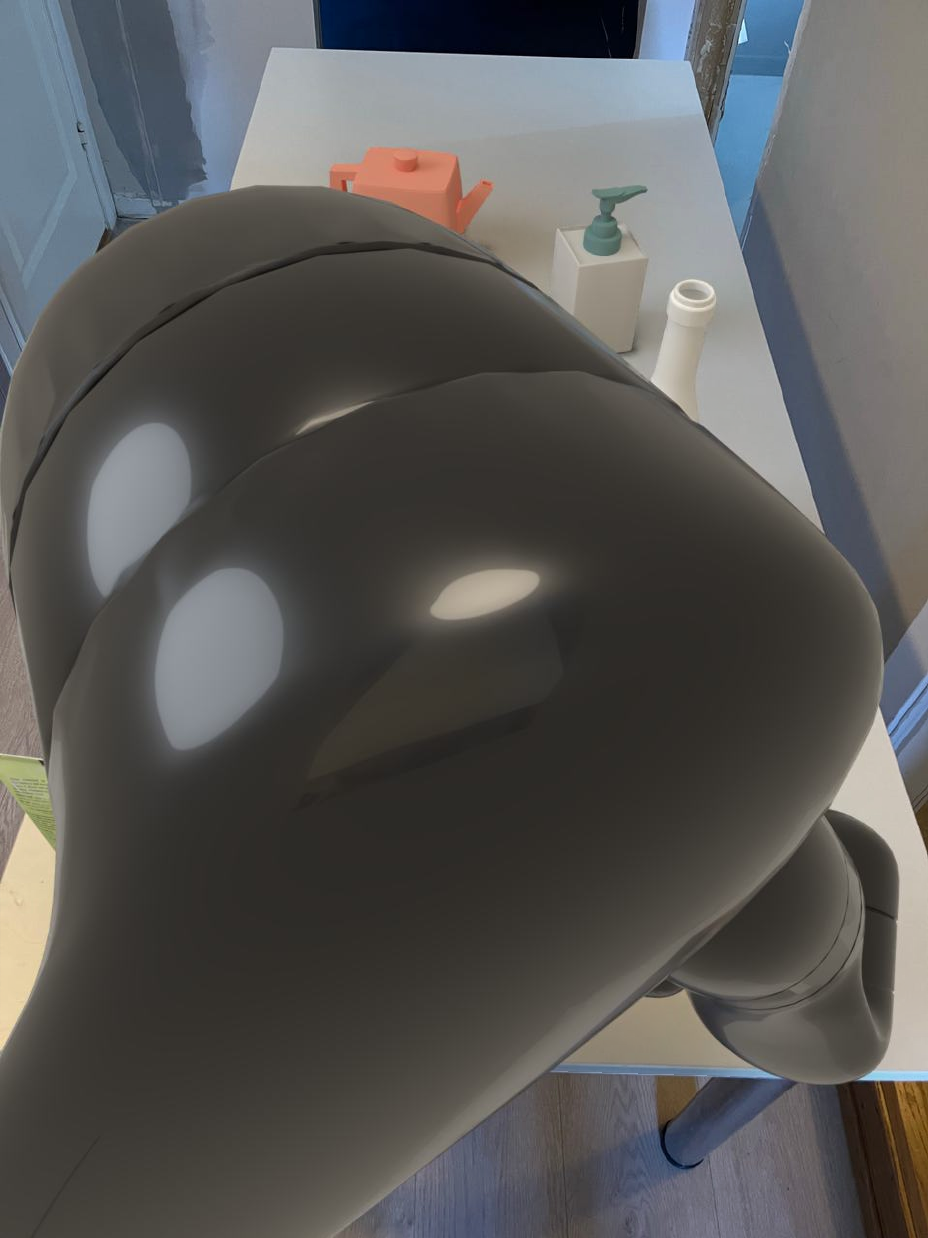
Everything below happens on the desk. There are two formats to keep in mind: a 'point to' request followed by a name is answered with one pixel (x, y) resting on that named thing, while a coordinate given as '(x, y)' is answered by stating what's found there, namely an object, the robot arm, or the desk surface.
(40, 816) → the tube
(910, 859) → the desk surface
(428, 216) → the teapot
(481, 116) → the desk surface
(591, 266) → the soap bottle
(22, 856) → the desk surface
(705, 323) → the wine bottle
